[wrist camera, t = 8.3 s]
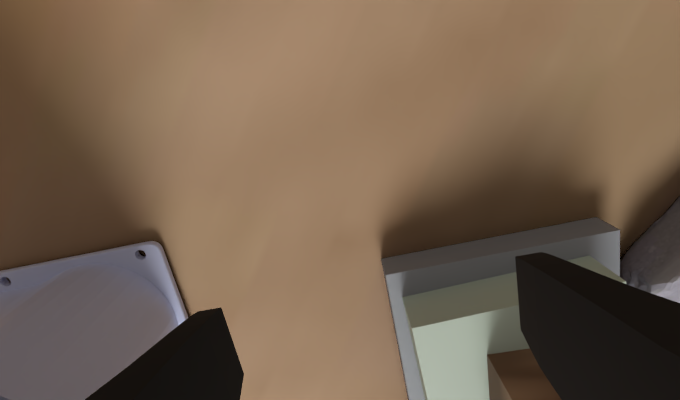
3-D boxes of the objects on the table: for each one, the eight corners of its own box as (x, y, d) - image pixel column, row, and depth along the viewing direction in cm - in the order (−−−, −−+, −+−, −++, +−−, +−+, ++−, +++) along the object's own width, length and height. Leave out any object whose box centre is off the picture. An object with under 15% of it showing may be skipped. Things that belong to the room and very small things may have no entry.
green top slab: (433, 437, 22) (445, 481, 20) (402, 297, 20) (411, 328, 17) (598, 404, 22) (631, 445, 19) (589, 255, 19) (626, 281, 17)
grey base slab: (410, 413, 25) (418, 449, 22) (379, 252, 22) (385, 275, 19) (591, 381, 24) (619, 414, 22) (587, 212, 21) (619, 229, 19)
